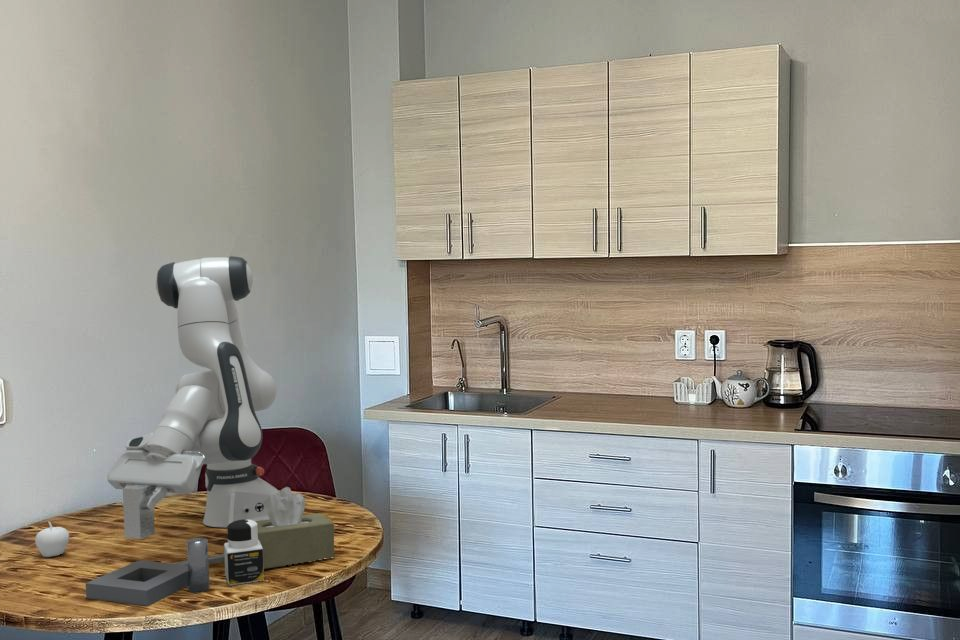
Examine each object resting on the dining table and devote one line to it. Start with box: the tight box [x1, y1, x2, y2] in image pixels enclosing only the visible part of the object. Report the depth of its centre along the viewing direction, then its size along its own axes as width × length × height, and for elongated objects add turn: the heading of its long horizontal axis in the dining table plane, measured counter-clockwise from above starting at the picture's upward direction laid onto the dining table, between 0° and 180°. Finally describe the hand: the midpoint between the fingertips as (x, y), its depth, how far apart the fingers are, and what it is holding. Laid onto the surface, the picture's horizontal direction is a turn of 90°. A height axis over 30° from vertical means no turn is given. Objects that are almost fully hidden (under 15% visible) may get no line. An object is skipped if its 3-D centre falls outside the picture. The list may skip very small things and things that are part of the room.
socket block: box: [85, 559, 189, 607], centre depth 183 cm, size 15×15×3 cm
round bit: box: [186, 537, 210, 594], centre depth 182 cm, size 4×4×10 cm
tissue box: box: [255, 486, 335, 570], centre depth 200 cm, size 19×10×16 cm, turn 118°
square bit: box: [122, 484, 156, 540], centre depth 182 cm, size 4×4×10 cm
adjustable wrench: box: [170, 553, 225, 565], centre depth 200 cm, size 25×6×2 cm, turn 116°
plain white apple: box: [34, 520, 70, 558], centre depth 208 cm, size 7×7×8 cm
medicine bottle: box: [223, 519, 265, 587], centre depth 188 cm, size 7×7×12 cm
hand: (136, 507), depth 182 cm, fingers closed on square bit, 4 cm apart
